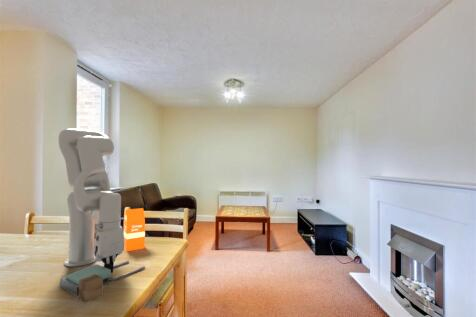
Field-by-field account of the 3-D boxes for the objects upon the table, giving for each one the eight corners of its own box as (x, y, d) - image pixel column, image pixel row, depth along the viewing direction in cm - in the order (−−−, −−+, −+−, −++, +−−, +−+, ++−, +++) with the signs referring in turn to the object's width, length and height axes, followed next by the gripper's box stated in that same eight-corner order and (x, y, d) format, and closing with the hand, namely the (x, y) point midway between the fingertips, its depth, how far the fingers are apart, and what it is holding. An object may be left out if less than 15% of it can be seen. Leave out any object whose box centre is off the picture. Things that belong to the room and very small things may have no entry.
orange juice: (144, 248, 127) (145, 209, 128) (126, 251, 122) (126, 210, 123) (141, 244, 134) (141, 207, 134) (123, 247, 129) (124, 208, 129)
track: (60, 286, 87) (60, 278, 87) (127, 262, 109) (127, 255, 109) (76, 296, 80) (76, 287, 80) (144, 268, 102) (144, 261, 102)
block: (78, 298, 80) (79, 279, 80) (94, 291, 84) (94, 273, 84) (86, 303, 77) (86, 283, 77) (102, 296, 81) (102, 277, 81)
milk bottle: (92, 240, 140) (93, 204, 141) (106, 239, 141) (107, 204, 141) (85, 244, 132) (86, 207, 133) (100, 244, 133) (101, 206, 134)
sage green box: (65, 286, 87) (66, 274, 87) (97, 274, 96) (97, 264, 96) (78, 293, 82) (78, 281, 82) (110, 280, 91) (110, 269, 92)
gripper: (96, 230, 88) (95, 283, 87) (132, 222, 101) (131, 267, 100) (84, 228, 91) (83, 278, 91) (120, 220, 104) (119, 263, 104)
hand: (108, 272), depth 96 cm, fingers closed
